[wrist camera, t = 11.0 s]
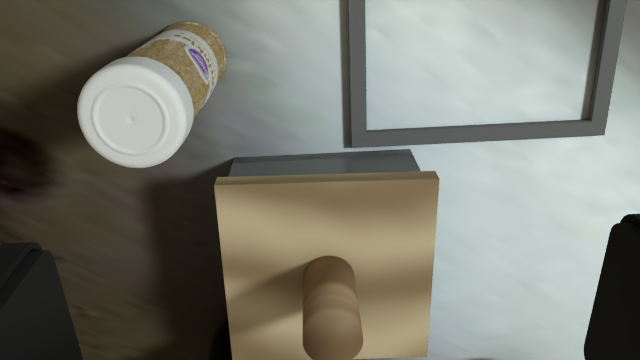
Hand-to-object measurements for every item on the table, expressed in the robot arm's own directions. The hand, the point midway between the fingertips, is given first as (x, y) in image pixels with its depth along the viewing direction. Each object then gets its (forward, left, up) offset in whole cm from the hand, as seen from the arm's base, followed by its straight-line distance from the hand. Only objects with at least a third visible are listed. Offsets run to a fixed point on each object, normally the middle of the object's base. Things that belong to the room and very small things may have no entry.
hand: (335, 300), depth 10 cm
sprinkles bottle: (+1, -8, -28) cm, 29 cm away
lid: (+14, 0, -23) cm, 27 cm away
